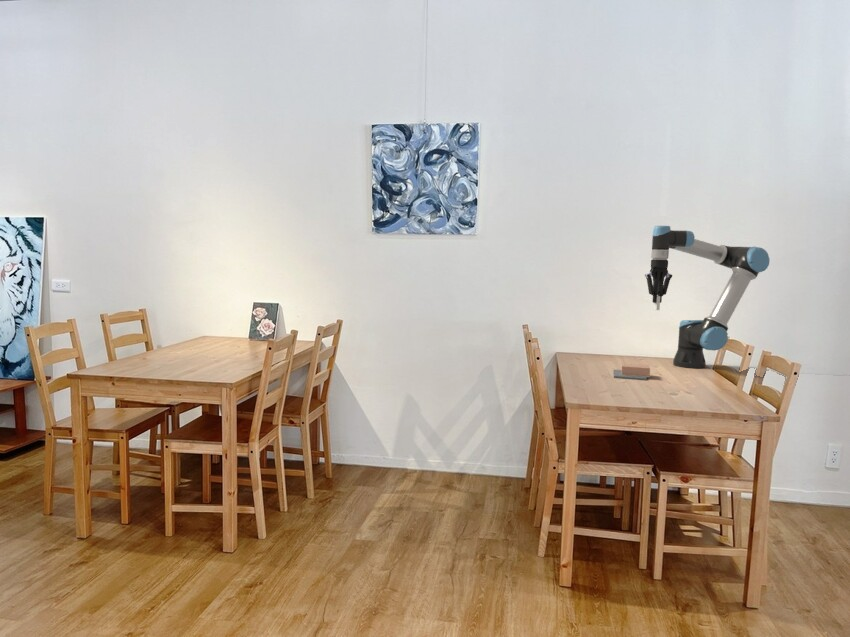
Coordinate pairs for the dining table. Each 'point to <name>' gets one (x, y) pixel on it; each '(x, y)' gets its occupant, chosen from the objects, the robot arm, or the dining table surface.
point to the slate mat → (618, 375)
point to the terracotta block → (635, 370)
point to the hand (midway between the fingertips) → (656, 309)
